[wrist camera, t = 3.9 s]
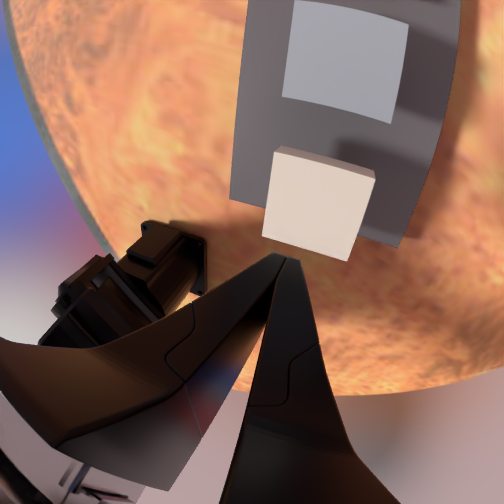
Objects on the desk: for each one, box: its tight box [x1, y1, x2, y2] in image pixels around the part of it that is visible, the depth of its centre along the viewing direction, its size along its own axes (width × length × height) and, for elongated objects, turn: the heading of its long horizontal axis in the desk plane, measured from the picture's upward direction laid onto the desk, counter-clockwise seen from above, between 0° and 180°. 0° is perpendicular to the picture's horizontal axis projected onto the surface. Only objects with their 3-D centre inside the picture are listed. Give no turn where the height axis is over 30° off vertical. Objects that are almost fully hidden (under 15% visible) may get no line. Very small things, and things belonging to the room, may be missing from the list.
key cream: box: [262, 146, 375, 262], centre depth 13 cm, size 4×4×2 cm
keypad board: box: [229, 0, 461, 248], centre depth 11 cm, size 19×11×2 cm, turn 174°
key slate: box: [282, 0, 409, 124], centre depth 9 cm, size 4×4×2 cm
